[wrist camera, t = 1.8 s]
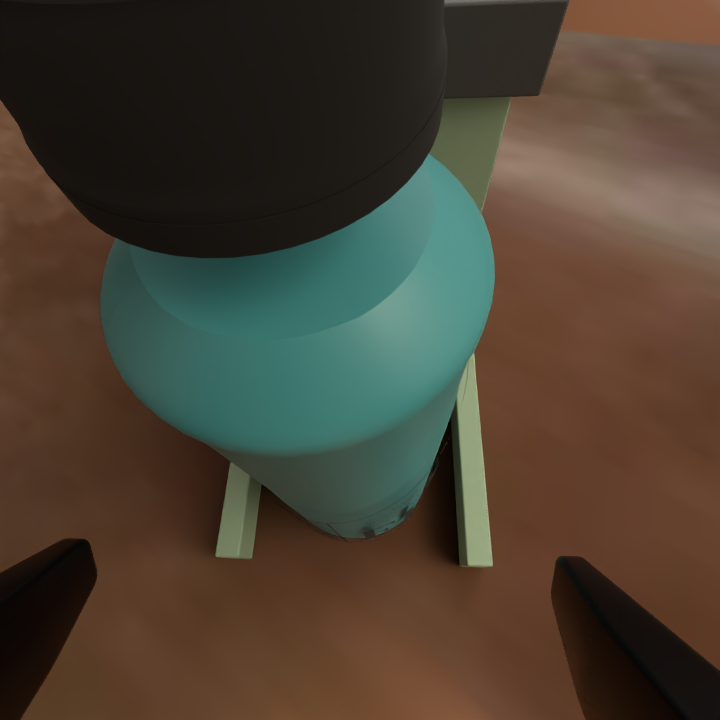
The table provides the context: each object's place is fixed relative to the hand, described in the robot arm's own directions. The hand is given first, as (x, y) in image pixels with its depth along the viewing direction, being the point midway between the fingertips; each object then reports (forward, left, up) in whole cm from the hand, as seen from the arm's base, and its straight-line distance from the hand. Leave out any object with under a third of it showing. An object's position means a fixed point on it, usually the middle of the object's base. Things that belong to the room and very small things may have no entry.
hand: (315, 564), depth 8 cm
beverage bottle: (+4, -1, -12) cm, 13 cm away
